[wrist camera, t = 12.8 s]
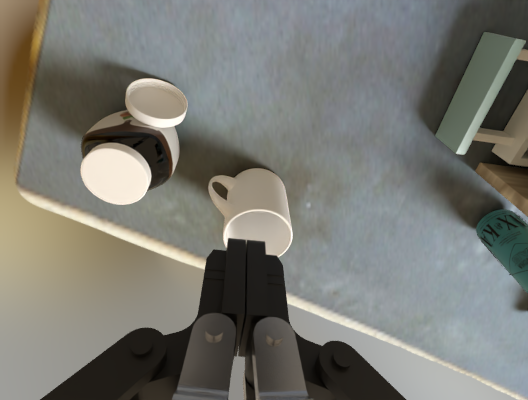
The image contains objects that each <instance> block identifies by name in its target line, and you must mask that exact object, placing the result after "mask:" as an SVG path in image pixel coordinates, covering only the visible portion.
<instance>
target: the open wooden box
mask: <svg viewBox="0 0 528 400" xmlns="http://www.w3.org/2000/svg"><path fill="white" fill-rule="evenodd" d="M475 172H476V173H477V174H478V175H480V176H481V177H482V178H483V179H484V180H485V181H487V182H488V183H489V184H490V185H491V186H492V187H494V188H495V189H496V190H497V191H498V192H499V193H501V194H502V195H503V196H504V197H505V198H506V199H508V200H509V201H510V202H511V203H512V204H513V205H515V206H516V207H517V208H518V209H519V210H520V211H522V212H523V213H524V214H525V215H526V216H527V217H528V169H525V168H517V167H510V166H502V165H495V164H488V163H480V164H479V165H478V167H477V169H476V170H475Z"/></svg>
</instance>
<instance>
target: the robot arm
mask: <svg viewBox="0 0 528 400" xmlns="http://www.w3.org/2000/svg"><path fill="white" fill-rule="evenodd" d="M238 346H239V354H238V356H243V357H245V371H244V376H243V389H244V400H406V399H405V398H404V397H403V396H402V395H401V394H400V393H399V392H398V391H397V390H396V389H395V388H394V387H393V386H391V384H390V383H388V382H387V381H386V380H385V379H384V378H383V377H382V376H381V375H380V374H379V373H378V372H377V371H376V370H375V369H374V368H373V367H372V366H371V365H370V364H369V363H368V362H367V361H366V360H365V359H364V358H363V357H362V356H361V355H360V354H358V353H357V351H355V350H354V349H353V348H352V347H351V346H349V345H348V344H346V343H344V342H340V341H330V342H327V343H326V344H324V345H323V346H321V345H318V344H315V343H313V342H310V341H307V340H305V339H304V338H302V337H300V336H299V335H298V334H297V333H296V332H295V331H294V330H293V328H292V326H291V325H290V322H289V317H288V308H287V298H286V290H285V281H284V272H283V265H282V263H281V262H280V260H279V258H278V257H277V255H267V254H266V246H265V241H255V240H247V242H246V240H244V239H234V238H228V242H227V250H226V251H223V250H213V251H212V252H211V254H210V255H209V256H208V257H207V260H206V266H205V273H204V280H203V286H202V292H201V298H200V305H199V311H198V315H197V317H196V319H195V321H194V322H193V323H192V324H191V325H190V326H189V327H187V328H186V329H184V330H182V331H179V332H176V333H172V334H168V335H163V334H162V333H161V332H159V331H158V330H156V329H152V328H140V329H136V330H134V331H132V332H130V333H129V334H127V335H126V336H124V337H123V338H121V339H120V340H119V341H117V342H116V343H115V344H114V345H112V346H111V347H110V348H108V349H107V350H106V351H104V352H103V353H102V354H100V355H99V356H98V357H96V358H95V359H94V360H92V361H91V362H90V363H88V364H87V365H86V366H84V367H83V368H82V369H80V370H79V371H78V372H76V373H75V374H74V375H72V376H71V377H70V378H68V379H67V380H66V381H64V382H63V383H62V384H60V385H59V386H58V387H56V388H55V389H54V390H53V391H51V392H50V393H48V394H47V395H46V396H44V397H43V398H42V399H40V400H228V394H229V386H230V377H231V370H232V365H233V359H234V356H237V351H238Z"/></svg>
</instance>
